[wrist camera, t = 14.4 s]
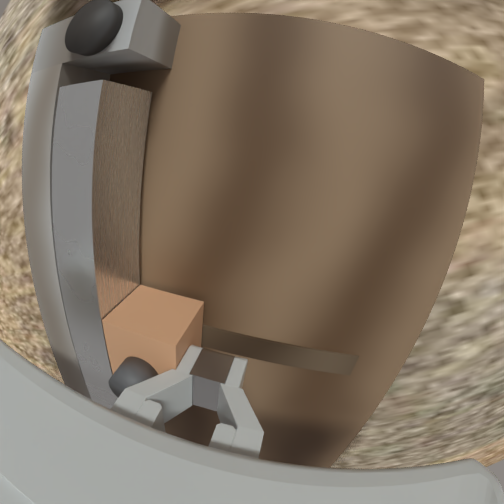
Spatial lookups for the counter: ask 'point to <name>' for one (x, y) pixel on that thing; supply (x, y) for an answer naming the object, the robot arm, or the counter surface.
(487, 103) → the counter surface
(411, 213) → the brown wooden board
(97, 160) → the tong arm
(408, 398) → the counter surface
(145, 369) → the tan knobbed block
